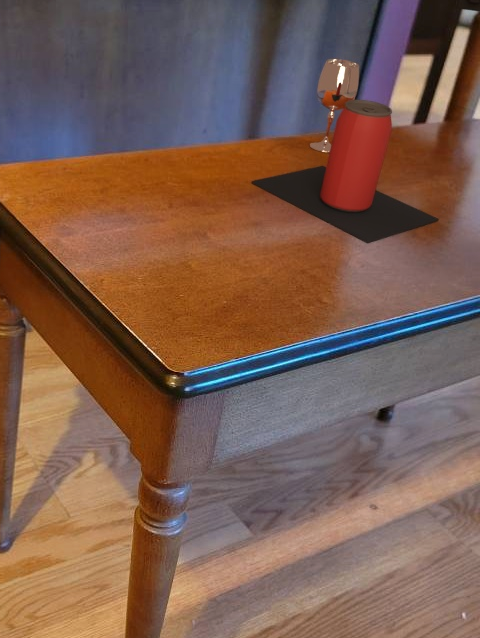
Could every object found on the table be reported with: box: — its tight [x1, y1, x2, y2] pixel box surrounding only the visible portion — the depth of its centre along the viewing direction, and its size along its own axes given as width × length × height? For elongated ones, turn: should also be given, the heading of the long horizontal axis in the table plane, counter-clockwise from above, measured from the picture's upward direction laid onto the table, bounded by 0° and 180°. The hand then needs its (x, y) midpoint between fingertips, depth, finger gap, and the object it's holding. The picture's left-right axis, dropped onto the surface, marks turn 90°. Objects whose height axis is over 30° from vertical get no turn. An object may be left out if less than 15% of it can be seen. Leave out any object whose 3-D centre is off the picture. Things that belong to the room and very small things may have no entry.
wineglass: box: [309, 58, 360, 154], centre depth 109 cm, size 6×6×12 cm
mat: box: [250, 165, 440, 244], centre depth 96 cm, size 20×14×1 cm
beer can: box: [320, 99, 393, 212], centre depth 91 cm, size 7×7×12 cm
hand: (474, 3), depth 81 cm, fingers open, 9 cm apart
